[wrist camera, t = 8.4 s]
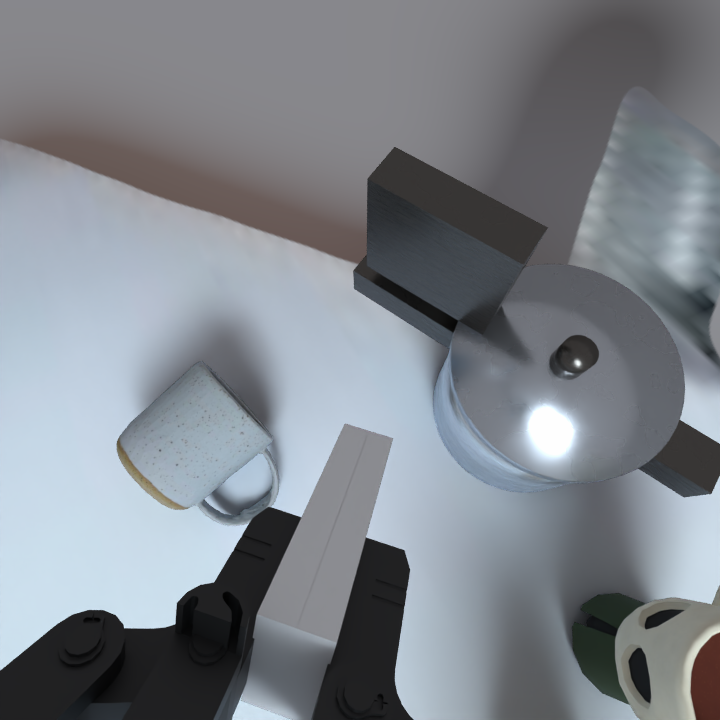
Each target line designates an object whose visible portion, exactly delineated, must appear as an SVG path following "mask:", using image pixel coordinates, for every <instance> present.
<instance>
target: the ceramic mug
mask: <svg viewBox="0 0 720 720" xmlns="http://www.w3.org/2000/svg"><path fill="white" fill-rule="evenodd" d="M272 441H273V438H272V436H271V434H270V433H269V431H268V430H267V429H266V428H265V427H264V425H263V424H262V423H261V422H260V421H259V420H258V419H257V417H256V416H255V415H254V414H253V412H252V411H251V410H250V409H249V408H248V407H247V406H246V405H245V404H244V402H243V401H242V400H241V399H240V398H239V397H238V396H237V395H236V394H235V393H234V392H233V391H232V390H231V388H230V387H229V386H228V385H227V384H226V383H225V382H224V381H223V380H222V379H221V378H220V377H219V376H218V375H217V374H216V373H215V372H214V371H213V370H212V369H211V368H210V367H209V366H207V365H206V364H205V363H204V362H202V361H200V362H198V363H196V364H195V365H194V366H193V367H191V368H190V369H189V370H188V371H187V372H186V373H185V374H184V375H183V376H182V377H181V378H179V379H178V380H177V381H176V382H175V383H174V384H173V385H172V386H171V387H170V388H168V389H167V390H166V391H165V392H164V393H163V394H162V395H161V396H160V397H159V398H157V399H156V400H155V401H154V402H153V403H152V404H151V405H150V406H149V407H148V408H146V409H145V410H144V411H143V412H142V413H141V414H139V415H138V416H137V417H136V418H135V419H134V420H133V421H132V422H131V423H130V424H129V425H128V426H127V428H126V429H125V430H124V432H123V433H122V434H121V435H120V437H119V438H118V441H117V452H118V456H119V458H120V461H121V462H122V464H123V466H124V467H125V469H126V470H127V472H128V473H129V474H130V475H131V476H132V478H133V479H134V480H135V481H136V482H137V483H138V484H139V485H140V486H141V487H142V488H143V489H144V490H145V491H146V492H147V493H148V494H149V495H151V496H152V497H153V498H154V499H156V500H157V501H158V502H160V503H161V504H163V505H165V506H166V507H168V508H171V509H175V510H184V509H188V508H190V507H191V506H194V505H195V506H198V507H199V508H200V510H201V511H202V512H203V513H204V514H205V515H206V516H208V517H209V518H211V519H212V520H213V521H216V522H218V523H220V524H223V525H227V526H238V525H245V524H248V523H250V521H251V520H252V518H253V517H255V516H256V515H258V514H259V513H260V512H262V511H263V510H264V509H266V508H267V507H271V506H272V505H273V504H274V502H275V500H276V497H277V495H278V490H279V475H278V470H277V467H276V465H275V462H274V460H273V458H272V456H271V454H270V452H269V451H268V449H267V446H268V445H269V444H270V443H271V442H272ZM257 454H263V455H264V456H265V458H266V459H267V461H268V464H269V466H270V469H271V472H272V476H273V483H272V489H271V490H270V492H269V494H268V495H267V496H265V497H264V498H263V499H261V500H260V501H259V502H258V503H256V504H255V505H253V506H252V507H250V508H248V509H243V510H242V511H241V513H240V515H236V516H234V515H227V514H223V513H221V512H220V511H218V510H216V509H214V508H213V507H212V506H210V505H209V504H208V503H207V502H206V501H205V500H204V499H205V498H206V497H207V496H208V495H209V494H211V493H212V492H213V491H214V490H215V489H216V488H218V487H219V486H220V485H221V484H222V483H224V482H225V480H226V479H228V478H229V477H230V476H231V475H233V474H234V473H235V472H237V471H238V470H239V469H240V468H242V467H243V466H244V465H245V464H247V463H248V462H249V461H250V460H251V459H253V458H254V457H255V456H256V455H257Z"/></svg>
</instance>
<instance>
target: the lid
mask: <svg viewBox="0 0 720 720" xmlns="http://www.w3.org/2000/svg"><path fill="white" fill-rule="evenodd" d="M546 230H547V227H545V226H543V225H542V224H540V223H538V222H536V221H534V220H532V219H530V218H528V217H526V216H525V215H523V214H521V213H519V212H517V211H515V210H513V209H511V208H509V207H508V206H505V205H504V204H502V203H500V202H498V201H496V200H494V199H492V198H491V197H488V196H487V195H485V194H483V193H481V192H479V191H477V190H475V189H473V188H472V187H470V186H467V185H466V184H464V183H462V182H460V181H458V180H457V179H455V178H453V177H451V176H449V175H447V174H445V173H443V172H441V171H439V170H438V169H436V168H434V167H432V166H430V165H428V164H426V163H424V162H422V161H421V160H419V159H417V158H415V157H413V156H411V155H409V154H407V153H405V152H403V151H402V150H400V149H398V148H396V147H394V149H393V150H392V151H391V152H390V153H389V154H388V155H387V157H386V158H385V159H384V160H383V161H382V162H381V164H380V165H379V166H378V167H377V168H376V170H375V171H374V172H373V173H372V174H371V175H370V177H369V178H368V192H367V266H368V267H369V268H371V269H373V270H374V271H376V272H378V273H379V274H381V275H383V276H384V277H386V278H388V279H389V280H391V281H393V282H394V283H396V284H398V285H400V286H401V287H403V288H405V289H406V290H408V291H410V292H411V293H413V294H415V295H416V296H418V297H420V298H421V299H423V300H425V301H426V302H428V303H430V304H431V305H433V306H435V307H436V308H438V309H440V310H441V311H443V312H445V313H446V314H448V315H450V316H451V317H453V318H455V319H456V320H458V323H457V325H456V328H455V330H454V333H453V335H452V340H451V344H450V348H449V359H448V364H449V377H450V383H451V388H452V391H453V394H454V397H455V400H456V403H457V405H458V407H459V409H460V411H461V414H462V416H463V417H464V419H465V420H466V422H467V423H468V425H469V427H470V428H471V430H472V431H473V432H474V433H475V434H476V436H477V437H478V438H479V439H480V440H481V441H482V442H483V443H484V444H485V445H486V446H487V447H488V448H489V449H490V450H491V451H492V452H493V453H495V454H496V455H497V456H499V457H500V458H501V459H503V460H504V461H506V462H507V463H509V464H511V465H512V466H514V467H516V468H518V469H519V470H522V471H524V472H526V473H529V474H531V475H533V476H536V477H540V478H543V479H547V480H550V481H556V482H563V483H591V482H599V481H603V480H607V479H611V478H615V477H618V476H622V475H624V474H627V473H629V472H631V471H634V470H636V469H638V468H639V467H641V466H642V465H644V464H646V463H647V462H649V461H650V460H651V459H652V458H653V457H654V456H656V455H657V454H658V453H659V452H660V451H661V450H662V448H663V447H664V446H665V445H666V444H667V442H668V441H669V440H670V438H671V436H672V435H673V433H674V431H675V429H676V427H677V425H678V422H679V419H680V417H681V414H682V409H683V404H684V394H685V382H684V372H683V367H682V363H681V358H680V356H679V353H678V350H677V347H676V345H675V343H674V341H673V339H672V337H671V335H670V333H669V331H668V330H667V328H666V327H665V325H664V324H663V322H662V321H661V319H660V318H659V317H658V316H657V314H656V313H655V312H654V311H653V310H652V309H651V307H650V306H648V305H647V304H646V303H645V302H644V301H643V300H642V299H641V298H640V297H639V296H637V295H636V294H635V293H634V292H632V291H631V290H630V289H628V288H627V287H625V286H623V285H622V284H620V283H618V282H617V281H615V280H613V279H611V278H609V277H607V276H605V275H603V274H600V273H597V272H594V271H591V270H589V269H585V268H581V267H576V266H571V265H562V264H542V265H532V266H527V267H525V266H526V264H527V262H528V261H529V259H530V257H531V255H532V254H533V252H534V250H535V248H536V247H537V245H538V244H539V242H540V240H541V239H542V237H543V235H544V233H545V232H546Z"/></svg>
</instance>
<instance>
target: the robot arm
mask: <svg viewBox="0 0 720 720" xmlns="http://www.w3.org/2000/svg"><path fill="white" fill-rule="evenodd" d="M392 440H393V438H390V437H387V436H384V435H380V434H377V433H374V432H371V431H367V430H364V429H361V428H358V427H354V426H351V425H348V424H344V427H343V429H342V431H341V433H340V435H339V437H338V440H337V442H336V444H335V446H334V448H333V450H332V453H331V455H330V457H329V459H328V461H327V463H326V466H325V468H324V470H323V472H322V474H321V476H320V479H319V481H318V483H317V485H316V487H315V489H314V492H313V494H312V496H311V498H310V500H309V502H308V505H307V507H306V509H305V511H304V513H303V515H302V518H301V517H298V516H295V515H292V514H289V513H286V512H283V511H280V510H277V509H274V508H271V507H267V508H266V509H264V510H263V511H262V512H260V513H259V514H258V515H256V516H255V517H253V518H252V520H251V521H250V523H249V525H248V526H247V528H246V530H245V531H244V533H243V535H242V538H240V540H239V542H238V543H237V545H236V547H235V548H234V551H233V552H232V553H231V555H230V557H229V559H228V560H227V562H226V564H225V565H224V567H223V569H222V570H221V572H220V574H219V575H218V577H217V579H216V580H215V582H214V583H210V584H204V585H200V586H198V587H196V588H194V589H192V590H190V591H188V592H187V593H186V594H185V595H184V596H183V597H182V598H181V599H180V600H179V601H178V603H177V610H176V624H175V625H172V626H169V627H166V628H156V629H129V628H124V626H123V624H122V623H121V621H120V620H119V619H118V618H117V616H116V615H113V614H111V613H109V612H106V611H104V610H87V611H84V612H80V613H77V614H74V615H71V616H70V617H68V618H66V619H65V620H63V621H62V622H60V623H58V624H57V625H56V626H54V627H53V628H52V629H51V630H50V631H48V632H47V633H46V634H45V635H43V636H42V637H41V638H40V639H39V640H37V641H36V642H35V643H34V644H32V645H31V646H30V647H29V648H28V649H26V650H25V651H24V652H23V653H21V654H20V655H19V656H18V657H17V658H15V659H14V660H13V661H12V662H10V663H9V664H8V665H7V666H6V667H4V668H3V669H2V670H1V671H0V720H232V716H233V714H234V712H235V709H236V707H237V704H238V702H239V700H240V697H241V695H242V698H241V701H244V702H246V703H249V704H251V705H254V706H257V707H259V708H262V709H265V710H267V711H270V712H273V713H275V714H278V715H281V716H283V717H286V718H289V719H291V720H413V719H412V718H411V717H410V716H409V714H408V713H407V712H406V710H405V709H404V707H403V706H402V704H401V701H400V699H399V697H398V694H397V691H396V686H395V666H396V660H397V653H398V646H399V640H400V633H401V626H402V620H403V613H404V606H405V600H406V591H407V586H408V580H409V573H410V568H409V565H408V561H407V558H406V555H405V551H404V550H402V549H399V548H396V547H393V546H390V545H387V544H384V543H381V542H378V541H375V540H372V539H369V538H366V535H367V531H368V528H369V524H370V520H371V517H372V513H373V509H374V506H375V502H376V498H377V495H378V491H379V488H380V484H381V480H382V477H383V473H384V469H385V466H386V462H387V458H388V455H389V451H390V448H391V444H392Z"/></svg>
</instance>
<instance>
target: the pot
mask: <svg viewBox="0 0 720 720" xmlns="http://www.w3.org/2000/svg"><path fill="white" fill-rule="evenodd" d="M353 273H354V289H355V290H357V291H358V292H360V293H362V294H363V295H365V296H366V297H368V298H369V299H371V300H373V301H374V302H376V303H377V304H379V305H381V306H382V307H384V308H385V309H387V310H388V311H390V312H392V313H393V314H395V315H396V316H398V317H400V318H401V319H403V320H404V321H406V322H407V323H409V324H411V325H412V326H414V327H415V328H417V329H419V330H420V331H422V332H423V333H425V334H426V335H428V336H430V337H431V338H433V339H434V340H436V341H437V342H439V343H441V344H442V345H444V346H445V347H447V348H449V347H450V344H451V340H452V335H453V333H454V330H455V328H456V325H457V323H458V320H456V319H455V318H453V317H451V316H450V315H448V314H446V313H445V312H443V311H441V310H440V309H438V308H436V307H435V306H433V305H431V304H430V303H428V302H426V301H425V300H423V299H421V298H420V297H418V296H416V295H415V294H413V293H411V292H410V291H408V290H406V289H405V288H403V287H401V286H400V285H398V284H396V283H394V282H393V281H391V280H389V279H388V278H386V277H384V276H383V275H381V274H379V273H378V272H376V271H374V270H373V269H371V268H369V267H368V266H367V255H366V256H365V257H364V258H363V260H362V261H361V262H360V263H359V265H358V266H357V267H356V268H355V269H354V271H353ZM448 359H449V354H448V356H447V358H446V360H445V363H444V365H443V367H442V369H441V371H440V374H439V376H438V379H437V382H436V385H435V390H434V398H433V409H434V417H435V422H436V426H437V429H438V432H439V435H440V437H441V439H442V441H443V443H444V445H445V447H446V448H447V450H448V451H449V453H450V454H451V455H452V457H453V458H454V459H455V460H456V461H457V462H458V464H459V465H461V466H462V467H463V468H464V469H465V470H466V471H467V472H469V473H470V474H471V475H473V476H474V477H476V478H477V479H479V480H481V481H483V482H484V483H486V484H489V485H491V486H494V487H496V488H499V489H503V490H507V491H513V492H537V491H544V490H547V489H551V488H555V487H559V486H562V485H566V484H570V483H563V482H556V481H550V480H547V479H543V478H540V477H536V476H533V475H531V474H529V473H526V472H524V471H522V470H519V469H518V468H516V467H514V466H512V465H511V464H509V463H507V462H506V461H504V460H503V459H501V458H500V457H499V456H497V455H496V454H495V453H493V452H492V451H491V450H490V449H489V448H488V447H487V446H486V445H485V444H484V443H483V442H482V441H481V440H480V439H479V438H478V437H477V436H476V434H475V433H474V432H473V431H472V430H471V428H470V427H469V425H468V423H467V422H466V420H465V419H464V417H463V416H462V414H461V411H460V409H459V407H458V405H457V403H456V400H455V397H454V394H453V391H452V388H451V383H450V377H449V364H448ZM638 469H640V470H641V471H643V472H645V473H646V474H648V475H649V476H651V477H653V478H654V479H656V480H657V481H659V482H660V483H662V484H664V485H665V486H667V487H668V488H670V489H672V490H673V491H675V492H676V493H678V494H679V495H681V496H683V497H690V496H698V495H706V494H711V493H712V491H713V489H714V487H715V485H716V482H717V480H718V478H719V476H720V444H719V443H717V442H716V441H714V440H712V439H711V438H709V437H707V436H706V435H704V434H702V433H701V432H699V431H697V430H696V429H694V428H692V427H691V426H689V425H687V424H686V423H684V422H682V421H681V420H679V422H678V425H677V427H676V429H675V431H674V433H673V435H672V436H671V438H670V440H669V441H668V442H667V444H666V445H665V446H664V447H663V448H662V450H661V451H660V452H659V453H658V454H657V455H656V456H654V457H653V458H652V459H651V460H650V461H649V462H647V463H646V464H644V465H642V466H641V467H639V468H638Z"/></svg>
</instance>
